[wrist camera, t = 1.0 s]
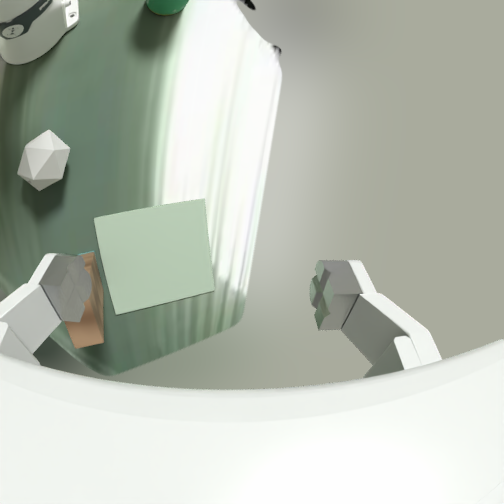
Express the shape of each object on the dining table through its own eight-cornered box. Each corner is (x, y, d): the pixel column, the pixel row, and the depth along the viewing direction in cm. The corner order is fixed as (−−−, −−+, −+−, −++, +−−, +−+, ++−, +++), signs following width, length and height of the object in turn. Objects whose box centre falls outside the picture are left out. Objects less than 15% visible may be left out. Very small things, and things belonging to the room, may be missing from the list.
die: (24, 147, 31) (2, 182, 26) (51, 112, 30) (28, 143, 24) (54, 173, 38) (39, 210, 32) (83, 142, 36) (69, 177, 30)
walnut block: (73, 255, 40) (55, 297, 25) (94, 250, 42) (86, 290, 27) (83, 292, 42) (75, 348, 27) (103, 288, 44) (103, 342, 29)
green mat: (93, 218, 41) (93, 218, 40) (204, 198, 49) (204, 198, 49) (116, 314, 46) (116, 314, 46) (214, 289, 55) (214, 290, 55)
